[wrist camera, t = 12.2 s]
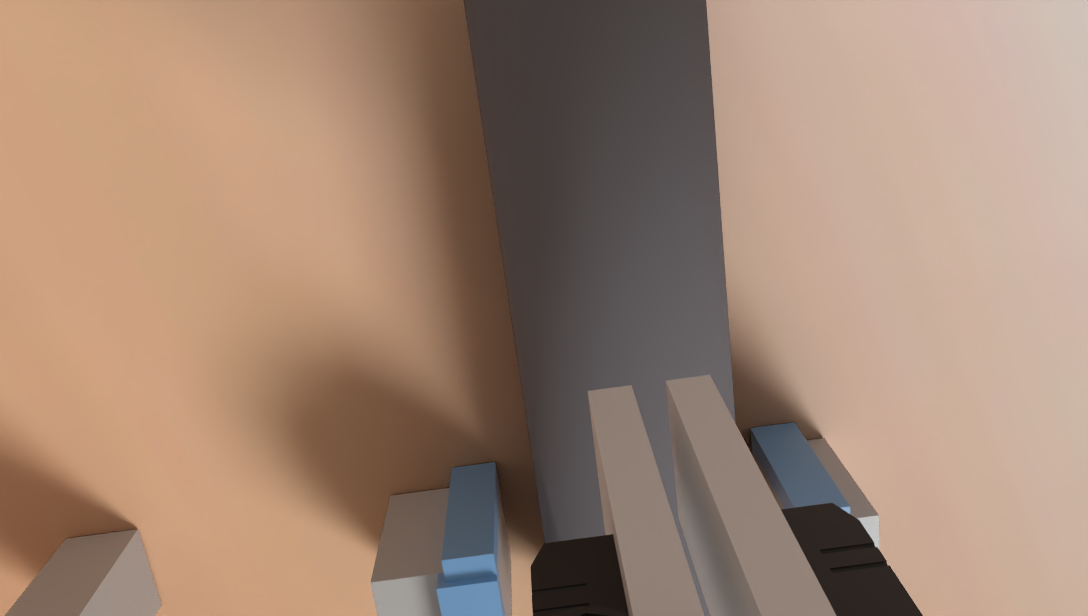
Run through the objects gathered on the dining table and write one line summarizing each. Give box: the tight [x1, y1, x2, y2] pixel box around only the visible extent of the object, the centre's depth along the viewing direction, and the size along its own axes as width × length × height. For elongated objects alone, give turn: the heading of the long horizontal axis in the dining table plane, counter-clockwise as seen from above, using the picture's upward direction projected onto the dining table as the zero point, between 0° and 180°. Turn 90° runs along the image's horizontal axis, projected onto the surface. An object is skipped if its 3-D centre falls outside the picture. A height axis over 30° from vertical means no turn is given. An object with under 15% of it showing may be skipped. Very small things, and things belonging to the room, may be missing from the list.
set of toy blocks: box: [5, 422, 879, 616], centre depth 24 cm, size 21×3×5 cm, turn 97°
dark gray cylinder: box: [464, 0, 736, 616], centre depth 22 cm, size 5×17×5 cm, turn 8°
